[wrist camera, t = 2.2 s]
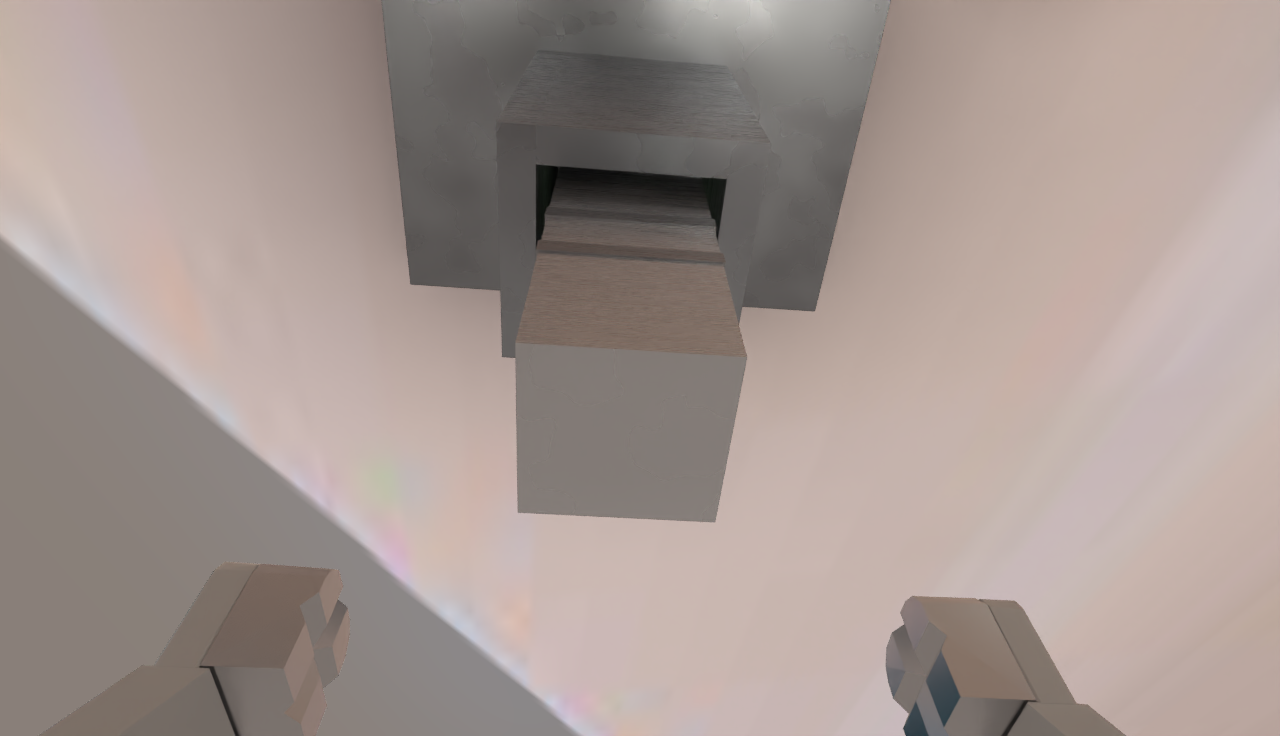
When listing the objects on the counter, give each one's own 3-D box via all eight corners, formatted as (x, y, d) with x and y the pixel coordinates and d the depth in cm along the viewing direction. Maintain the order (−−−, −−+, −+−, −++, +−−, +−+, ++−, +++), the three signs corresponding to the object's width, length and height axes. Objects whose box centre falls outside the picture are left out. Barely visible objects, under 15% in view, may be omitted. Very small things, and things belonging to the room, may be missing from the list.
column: (573, 91, 27) (505, 334, 12) (686, 100, 28) (757, 350, 12) (570, 200, 30) (510, 517, 15) (674, 208, 30) (721, 527, 15)
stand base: (391, -63, 26) (223, -31, 15) (877, -17, 27) (1042, 42, 16) (421, 264, 33) (321, 444, 22) (805, 291, 34) (888, 475, 23)
